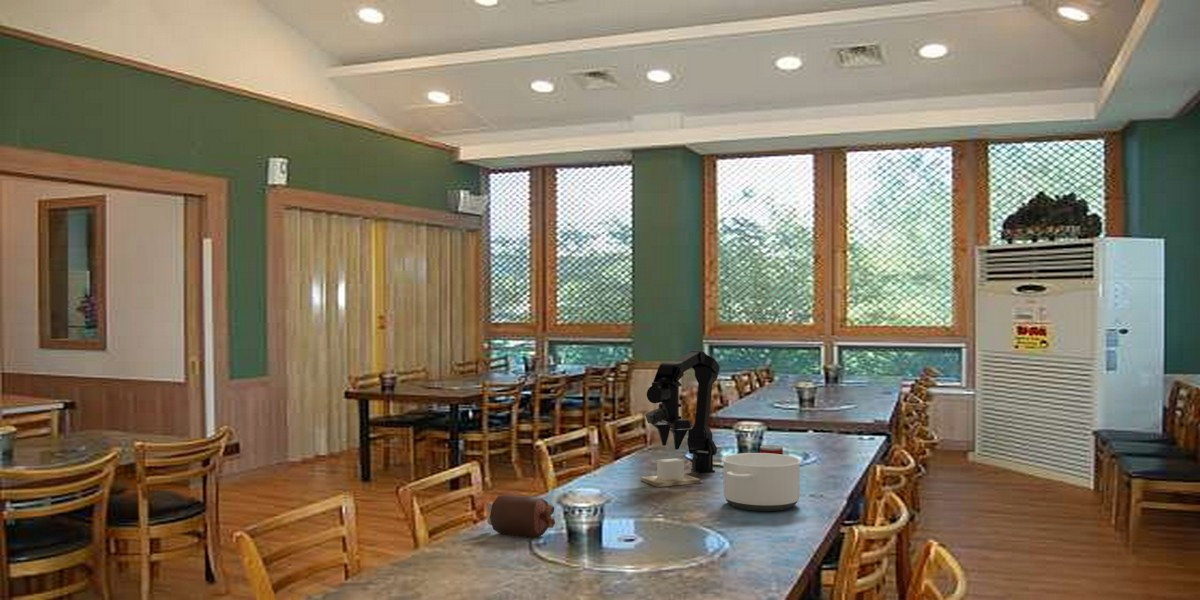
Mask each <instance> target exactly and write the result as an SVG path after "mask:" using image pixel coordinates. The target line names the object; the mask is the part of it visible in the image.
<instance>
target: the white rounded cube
mask: <svg viewBox="0 0 1200 600" xmlns="http://www.w3.org/2000/svg"><path fill="white" fill-rule="evenodd" d="M684 474H685V460H684V459H681V458H676V457H675V458H664V459H656V476H657V478H659V479H661V480H673V479H684Z"/></svg>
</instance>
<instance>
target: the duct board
mask: <svg viewBox="0 0 1200 600" xmlns="http://www.w3.org/2000/svg"><path fill="white" fill-rule="evenodd" d="M640 480H641V482H643V483H644V482H645V483H646V484H648V485H651V486H654V487H656V488H660V487H669V486H670V487H671V486H681V485H695V484H701V479H700V478H698V477H695V476H692V475H689V474H687V473H684V479H673V480H661V479H659V478H657V475H649V476H648V475H647V476H641V477H640ZM694 483H695V484H694Z"/></svg>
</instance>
